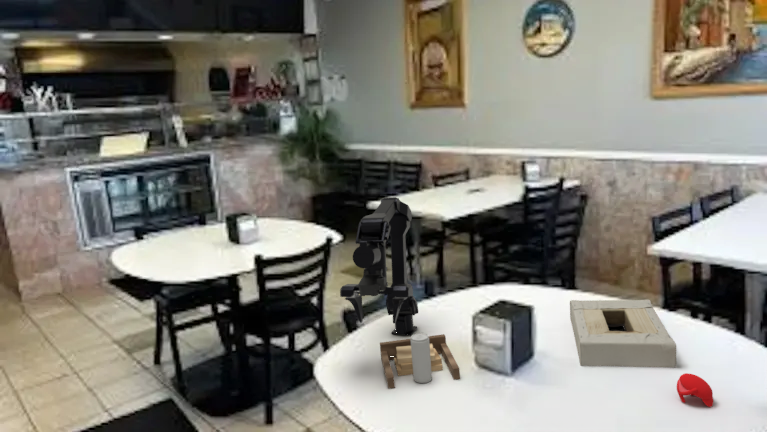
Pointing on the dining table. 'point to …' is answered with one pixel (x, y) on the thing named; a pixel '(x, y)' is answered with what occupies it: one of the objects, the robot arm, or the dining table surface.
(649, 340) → the box
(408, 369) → the offcut stack
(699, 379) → the red curved shell piece
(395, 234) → the robot arm
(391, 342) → the offcut rack
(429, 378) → the beverage can
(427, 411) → the dining table surface
